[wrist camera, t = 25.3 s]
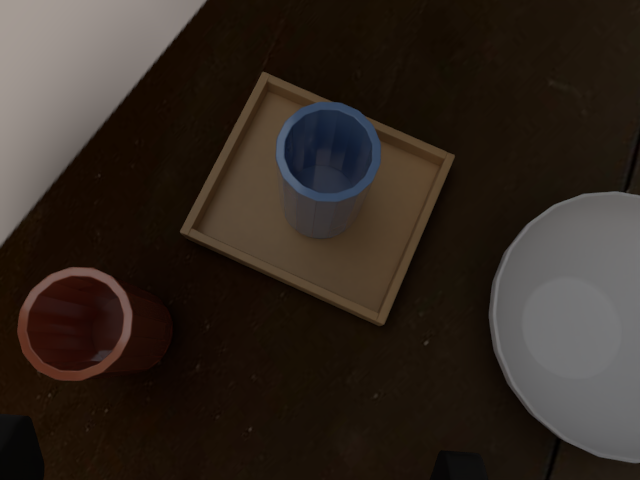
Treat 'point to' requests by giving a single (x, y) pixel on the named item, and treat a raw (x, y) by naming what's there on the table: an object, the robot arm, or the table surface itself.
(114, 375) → the red cup
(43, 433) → the table surface
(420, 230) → the tray
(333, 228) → the blue cup
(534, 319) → the bowl
